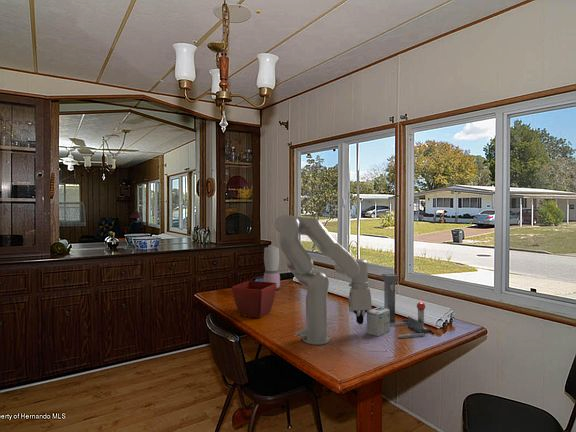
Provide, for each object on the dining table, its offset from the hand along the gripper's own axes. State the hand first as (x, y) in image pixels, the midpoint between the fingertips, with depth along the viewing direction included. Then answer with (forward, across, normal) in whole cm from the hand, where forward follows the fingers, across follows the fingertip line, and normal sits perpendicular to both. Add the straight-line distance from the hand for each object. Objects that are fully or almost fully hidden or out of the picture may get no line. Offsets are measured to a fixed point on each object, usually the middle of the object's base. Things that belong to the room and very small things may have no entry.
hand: (359, 323), depth 167 cm
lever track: (+5, +31, +2) cm, 32 cm away
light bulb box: (+5, +9, 0) cm, 11 cm away
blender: (+5, -28, +101) cm, 105 cm away
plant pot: (+5, -47, +40) cm, 62 cm away
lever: (+5, +31, -1) cm, 32 cm away
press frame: (+5, +22, +3) cm, 22 cm away
